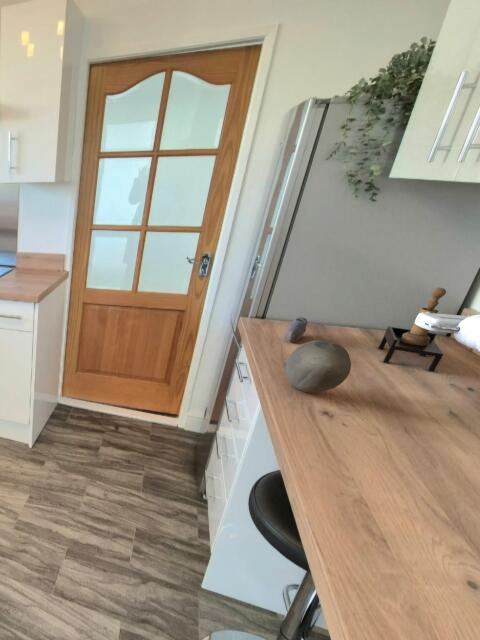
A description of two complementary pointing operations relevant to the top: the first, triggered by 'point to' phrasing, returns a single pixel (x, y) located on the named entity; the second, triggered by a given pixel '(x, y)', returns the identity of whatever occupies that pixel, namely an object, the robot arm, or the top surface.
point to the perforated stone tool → (296, 329)
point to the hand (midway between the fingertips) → (447, 316)
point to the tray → (410, 346)
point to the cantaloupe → (318, 366)
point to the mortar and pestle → (418, 333)
